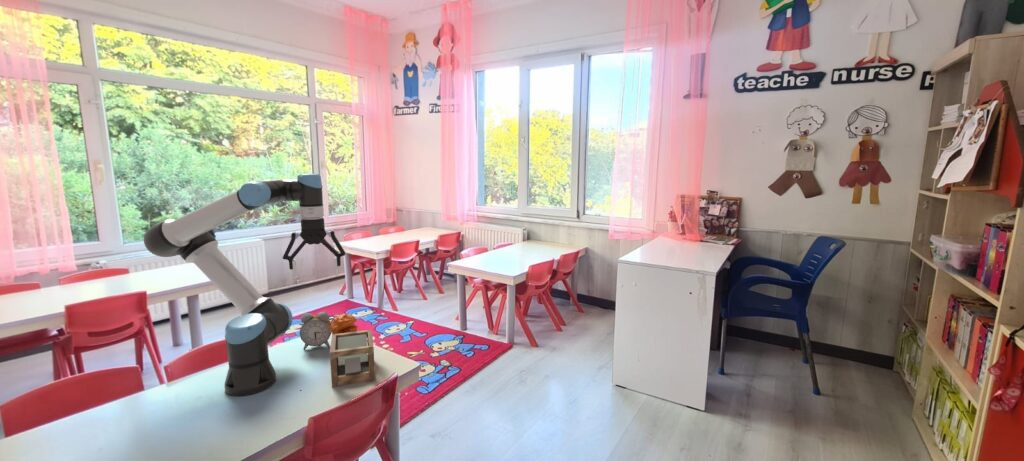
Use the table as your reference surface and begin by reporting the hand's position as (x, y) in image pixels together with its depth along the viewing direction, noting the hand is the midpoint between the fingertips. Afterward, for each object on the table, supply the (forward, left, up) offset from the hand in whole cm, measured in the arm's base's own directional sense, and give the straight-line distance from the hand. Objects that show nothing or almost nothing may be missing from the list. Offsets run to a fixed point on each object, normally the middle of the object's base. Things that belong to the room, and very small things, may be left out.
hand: (316, 276), depth 154 cm
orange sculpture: (+8, +6, -35) cm, 36 cm away
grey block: (+11, -11, -33) cm, 36 cm away
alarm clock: (-3, +19, -35) cm, 40 cm away
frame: (+11, -9, -35) cm, 37 cm away
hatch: (+11, -6, -27) cm, 30 cm away
